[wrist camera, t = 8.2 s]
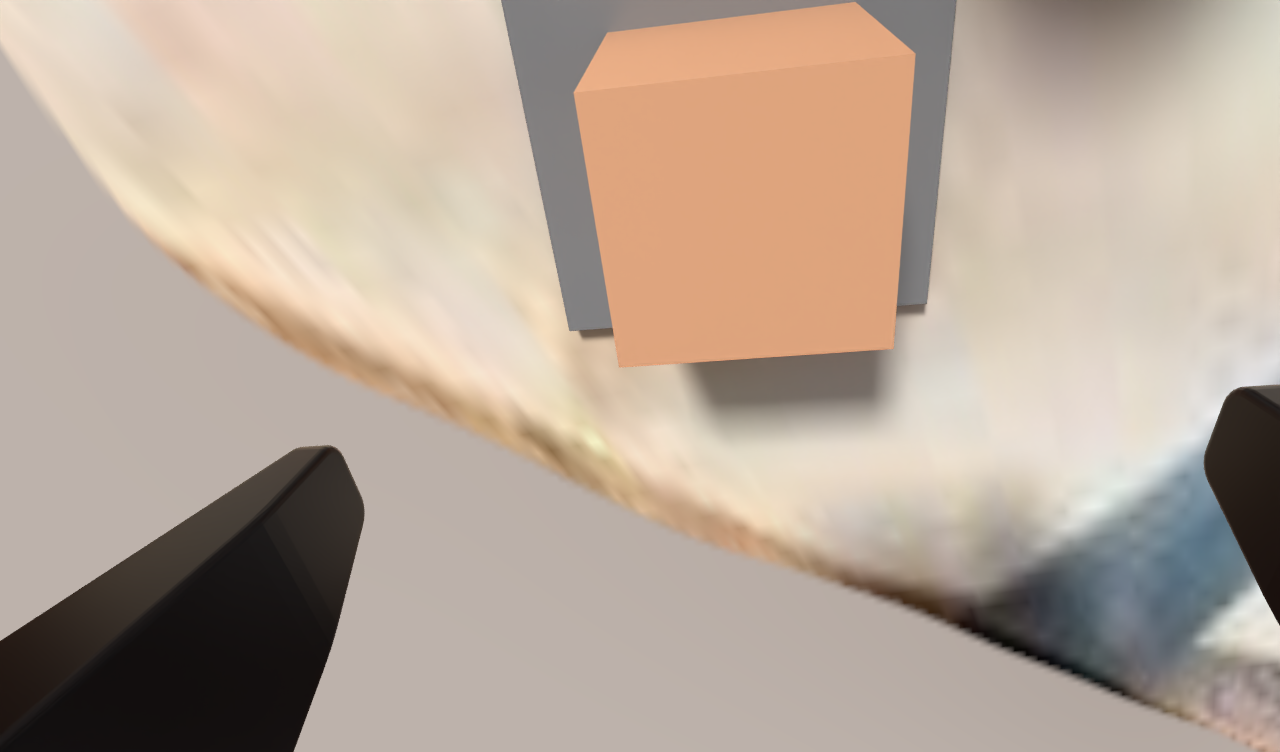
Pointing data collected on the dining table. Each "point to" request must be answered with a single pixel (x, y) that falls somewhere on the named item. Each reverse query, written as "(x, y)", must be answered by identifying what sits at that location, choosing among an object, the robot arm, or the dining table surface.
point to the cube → (749, 183)
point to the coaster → (601, 3)
